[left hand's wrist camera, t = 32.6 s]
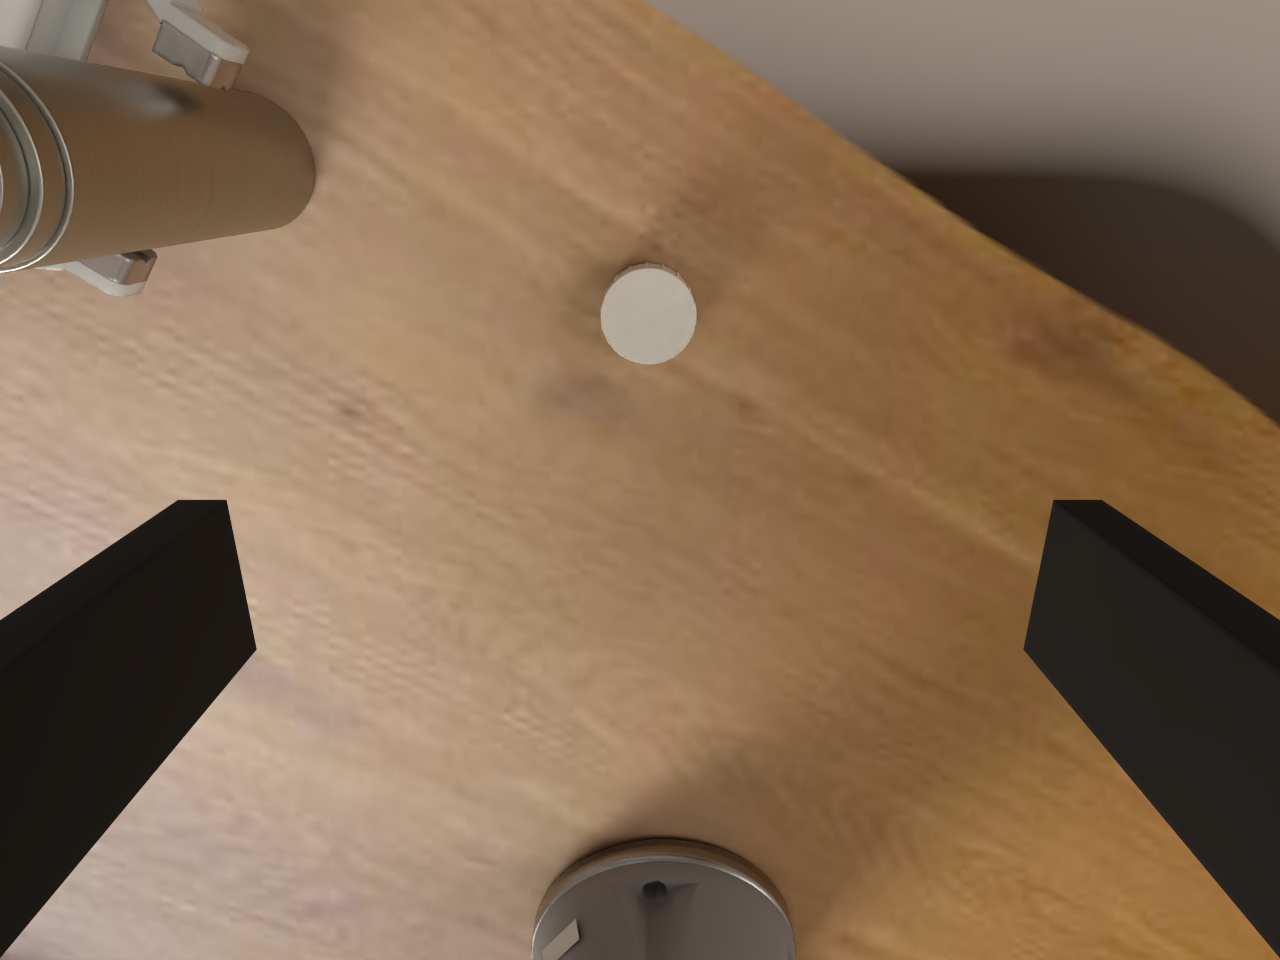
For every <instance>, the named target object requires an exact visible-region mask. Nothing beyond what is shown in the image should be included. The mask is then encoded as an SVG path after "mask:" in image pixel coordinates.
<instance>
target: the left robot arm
mask: <svg viewBox="0 0 1280 960" xmlns="http://www.w3.org/2000/svg"><path fill="white" fill-rule="evenodd" d="M255 651H256V644H255V639H254V634H253V629H252V624H251V619H250V614H249V609H248V604H247V599H246V595H245V590H244V585H243V580H242V575H241V570H240V565H239V560H238V555H237V550H236V545H235V540H234V535H233V530H232V525H231V520H230V515H229V510H228V505H227V500H177V501H176V502H175V503H173V504H172V505H170V506H169V507H167V508H166V509H164V510H163V511H161V512H160V513H158V514H157V515H155V516H154V517H152V518H151V519H149V520H148V521H146V522H145V523H143V524H142V525H140V526H139V527H138V528H136V529H135V530H133V531H132V532H130V533H129V534H127V535H126V536H124V537H123V538H121V539H120V540H118V541H117V542H115V543H114V544H112V545H111V546H109V547H108V548H106V549H105V550H103V551H102V552H101V553H99V554H98V555H96V556H95V557H93V558H92V559H90V560H89V561H87V562H86V563H84V564H83V565H81V566H80V567H78V568H77V569H75V570H74V571H72V572H71V573H69V574H68V575H66V576H65V577H64V578H62V579H61V580H59V581H58V582H56V583H55V584H53V585H52V586H50V587H49V588H47V589H46V590H44V591H43V592H41V593H40V594H38V595H37V596H35V597H34V598H32V599H31V600H29V601H28V602H27V603H25V604H24V605H22V606H21V607H19V608H18V609H16V610H15V611H13V612H12V613H10V614H9V615H7V616H6V617H4V618H3V619H1V620H0V957H1V956H2V955H3V954H4V953H5V951H6V950H7V949H8V948H9V947H10V945H11V944H12V943H13V942H14V941H15V939H16V938H17V937H18V936H19V935H20V933H21V932H22V931H23V930H24V929H25V927H26V926H27V925H28V924H29V923H30V921H31V920H32V919H33V918H34V917H35V915H36V914H37V913H38V912H39V911H40V909H41V908H42V907H43V906H44V905H45V903H46V902H47V901H48V900H49V899H50V897H51V896H52V895H53V894H54V892H55V891H56V890H57V889H58V888H59V886H60V885H61V884H62V883H63V882H64V880H65V879H66V878H67V877H68V876H69V874H70V873H71V872H72V871H73V870H74V868H75V867H76V866H77V865H78V864H79V862H80V861H81V860H82V859H83V858H84V856H85V855H86V854H87V853H88V852H89V850H90V849H91V848H92V847H93V846H94V844H95V843H96V842H97V841H98V840H99V838H100V837H101V836H102V835H103V834H104V832H105V831H106V830H107V829H108V828H109V826H110V825H111V824H112V823H113V821H114V820H115V819H116V818H117V817H118V815H119V814H120V813H121V812H122V811H123V809H124V808H125V807H126V806H127V805H128V803H129V802H130V801H131V800H132V799H133V797H134V796H135V795H136V794H137V793H138V791H139V790H140V789H141V788H142V787H143V785H144V784H145V783H146V782H147V781H148V779H149V778H150V777H151V776H152V775H153V773H154V772H155V771H156V770H157V769H158V767H159V766H160V765H161V764H162V763H163V761H164V760H165V759H166V758H167V757H168V755H169V754H170V753H171V752H172V751H173V749H174V748H175V747H176V746H177V744H178V743H179V742H180V741H181V740H182V738H183V737H184V736H185V735H186V734H187V732H188V731H189V730H190V729H191V728H192V726H193V725H194V724H195V723H196V722H197V720H198V719H199V718H200V717H201V716H202V714H203V713H204V712H205V711H206V710H207V708H208V707H209V706H210V705H211V704H212V702H213V701H214V700H215V699H216V698H217V696H218V695H219V694H220V693H221V692H222V690H223V689H224V688H225V687H226V686H227V684H228V683H229V682H230V681H231V680H232V678H233V677H234V676H235V675H236V674H237V672H238V671H239V670H240V669H241V667H242V666H243V665H244V664H245V663H246V661H247V660H248V659H249V658H250V657H251V655H252V654H253V653H254V652H255ZM1024 651H1025V652H1026V653H1027V654H1028V655H1029V657H1030V658H1031V659H1032V660H1033V661H1034V663H1035V664H1036V665H1037V666H1038V667H1039V669H1040V670H1041V671H1042V672H1043V674H1044V675H1045V676H1046V677H1047V678H1048V680H1049V681H1050V682H1051V683H1052V684H1053V686H1054V687H1055V688H1056V689H1057V690H1058V692H1059V693H1060V694H1061V695H1062V696H1063V698H1064V699H1065V700H1066V701H1067V702H1068V704H1069V705H1070V706H1071V707H1072V708H1073V710H1074V711H1075V712H1076V713H1077V714H1078V716H1079V717H1080V718H1081V719H1082V720H1083V722H1084V723H1085V724H1086V725H1087V726H1088V728H1089V729H1090V730H1091V731H1092V732H1093V734H1094V735H1095V736H1096V737H1097V738H1098V740H1099V741H1100V742H1101V743H1102V744H1103V746H1104V747H1105V748H1106V749H1107V751H1108V752H1109V753H1110V754H1111V755H1112V757H1113V758H1114V759H1115V760H1116V761H1117V763H1118V764H1119V765H1120V766H1121V767H1122V769H1123V770H1124V771H1125V772H1126V773H1127V775H1128V776H1129V777H1130V778H1131V779H1132V781H1133V782H1134V783H1135V784H1136V785H1137V787H1138V788H1139V789H1140V790H1141V791H1142V793H1143V794H1144V795H1145V796H1146V797H1147V799H1148V800H1149V801H1150V802H1151V803H1152V805H1153V806H1154V807H1155V808H1156V809H1157V811H1158V812H1159V813H1160V814H1161V815H1162V817H1163V818H1164V819H1165V820H1166V821H1167V823H1168V824H1169V825H1170V826H1171V828H1172V829H1173V830H1174V831H1175V832H1176V834H1177V835H1178V836H1179V837H1180V838H1181V840H1182V841H1183V842H1184V843H1185V844H1186V846H1187V847H1188V848H1189V849H1190V850H1191V852H1192V853H1193V854H1194V855H1195V856H1196V858H1197V859H1198V860H1199V861H1200V862H1201V864H1202V865H1203V866H1204V867H1205V868H1206V870H1207V871H1208V872H1209V873H1210V874H1211V876H1212V877H1213V878H1214V879H1215V880H1216V882H1217V883H1218V884H1219V885H1220V886H1221V888H1222V889H1223V890H1224V891H1225V892H1226V894H1227V895H1228V896H1229V897H1230V899H1231V900H1232V901H1233V902H1234V903H1235V905H1236V906H1237V907H1238V908H1239V909H1240V911H1241V912H1242V913H1243V914H1244V915H1245V917H1246V918H1247V919H1248V920H1249V921H1250V923H1251V924H1252V925H1253V926H1254V927H1255V929H1256V930H1257V931H1258V932H1259V933H1260V935H1261V936H1262V937H1263V938H1264V939H1265V941H1266V942H1267V943H1268V944H1269V945H1270V947H1271V948H1272V949H1273V950H1274V951H1275V953H1276V954H1277V955H1278V956H1279V957H1280V620H1279V619H1277V618H1276V617H1274V616H1273V615H1271V614H1270V613H1268V612H1267V611H1265V610H1264V609H1262V608H1261V607H1259V606H1258V605H1256V604H1255V603H1253V602H1252V601H1251V600H1249V599H1248V598H1246V597H1245V596H1243V595H1242V594H1240V593H1239V592H1237V591H1236V590H1234V589H1233V588H1231V587H1230V586H1228V585H1227V584H1225V583H1224V582H1222V581H1221V580H1219V579H1218V578H1216V577H1215V576H1214V575H1212V574H1211V573H1209V572H1208V571H1206V570H1205V569H1203V568H1202V567H1200V566H1199V565H1197V564H1196V563H1194V562H1193V561H1191V560H1190V559H1188V558H1187V557H1185V556H1184V555H1182V554H1181V553H1179V552H1178V551H1177V550H1175V549H1174V548H1172V547H1171V546H1169V545H1168V544H1166V543H1165V542H1163V541H1162V540H1160V539H1159V538H1157V537H1156V536H1154V535H1153V534H1151V533H1150V532H1148V531H1147V530H1145V529H1144V528H1142V527H1141V526H1140V525H1138V524H1137V523H1135V522H1134V521H1132V520H1131V519H1129V518H1128V517H1126V516H1125V515H1123V514H1122V513H1120V512H1119V511H1117V510H1116V509H1114V508H1113V507H1111V506H1110V505H1108V504H1107V503H1105V502H1104V501H1103V500H1053V505H1052V510H1051V515H1050V520H1049V525H1048V530H1047V535H1046V540H1045V545H1044V550H1043V555H1042V560H1041V565H1040V570H1039V575H1038V580H1037V585H1036V590H1035V595H1034V599H1033V604H1032V609H1031V614H1030V619H1029V624H1028V629H1027V634H1026V639H1025V644H1024ZM531 956H532V960H795V956H796V949H795V940H794V935H793V930H792V924H791V919H790V915H789V911H788V908H787V906H786V903H785V901H784V899H783V897H782V895H781V893H780V892H779V891H778V889H777V888H776V886H775V885H774V884H773V883H772V882H771V881H770V879H769V878H768V877H767V876H766V875H764V874H763V873H762V872H761V871H760V870H759V869H757V868H756V867H755V866H753V865H752V864H750V863H749V862H747V861H745V860H744V859H742V858H740V857H738V856H736V855H734V854H732V853H730V852H728V851H725V850H722V849H720V848H717V847H713V846H710V845H706V844H702V843H697V842H692V841H684V840H673V839H652V840H641V841H635V842H629V843H624V844H620V845H616V846H613V847H610V848H607V849H604V850H601V851H599V852H597V853H594V854H592V855H590V856H588V857H586V858H584V859H582V860H581V861H579V862H578V863H576V864H575V865H573V866H572V867H570V868H569V869H568V870H566V871H565V872H564V873H563V874H562V875H561V876H560V877H559V878H558V879H557V880H556V881H555V882H554V883H553V884H552V886H551V887H550V888H549V889H548V891H547V892H546V894H545V896H544V897H543V899H542V901H541V904H540V906H539V909H538V912H537V915H536V921H535V928H534V934H533V941H532V955H531Z"/></svg>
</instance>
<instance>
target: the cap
mask: <svg viewBox="0 0 1280 960" xmlns="http://www.w3.org/2000/svg"><path fill="white" fill-rule="evenodd" d="M690 290H691V289H690V286H689V284H688V285H687V284H686V282H685V281H684V280H683V279H682V277H681V276H680V275H679V273H678V272H675V271H673V270H671V269H670V268H668V267H665V266H664V264H662V265H659V264H653V263H648V262H646V263H644V264H638V265H634V266H629V268H627V269H626V270H624V271H623V272H621V273H620V274H619V275H616V276H615V279H614V280H613V281H612V282H611V284H610V285H609V287H608V288H606V290H605V293H604V294H605V297H604V300H603V303H602V304H601V307H600V310H601V327H602V329H603V333H604V335H605V338H606V339H607V341H608V343H609V344H610V345H611V347H612V348H613V349H614V350H615V351H616V352H617V353H618V354H619V355H621V356H622V357H624V358H626V359H627V360H630V361H632V362H635V363H640V364H657V363H662V362H665V361H667V360H669V359H671V358H673V357H675V356H676V355H677V354H679V353H680V352H681V351H682V350H683V349H684V348H685V347H686V345H687V344H688V343H689V341H690V339H691V338H692V335H693V333H694V330H695V325H696V323H697V320H696V307H695V306H697V305H696V302H695V299H694V300H693V297H692V294H691V291H690Z"/></svg>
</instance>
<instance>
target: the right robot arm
mask: <svg viewBox="0 0 1280 960" xmlns="http://www.w3.org/2000/svg"><path fill="white" fill-rule="evenodd" d="M145 1H146V2H147V4H148V6H149V7H150V9H151V10H152V12H153V13H154V15H155V16H156V18H157V20H158V21H159V23H160V24H161V27H160V30H159V32H158V35H157V38H156V41H155V43H154V46H153V49H152V51H154V52H155V53H156V54H158V55H159V56H161V57H162V58H164V59H165V60H167V61H168V62H169V63H171V64H172V65H176V66H180V67H183V68H184V70H185V72H186V74H187V75H189V76H190V77H192V78H193V79H195V80H196V81H198V82H199V83H201V84H203V85H205V86H207V87H209V88H211V89H215V90H220V89H223V90H224V91H225V92H230V91H231V89H232V87H233V85H234V83H235V81H236V79H237V76H238V74H239V72H240V70H241V68H242V66H243V64H244V63H245V60H246V58H247V56H248V53H249V51H250V50H249V49H248V48H247V47H246V45H244V44H243V43H242V42H240V41H239V40H237V39H236V38H234V37H233V36H232V35H230V34H229V33H227V32H226V31H224V30H223V29H222V28H220V27H219V26H217V25H216V24H215V23H213V22H212V21H210V20H209V19H207V18H206V17H205V16H203V15H202V13H203V9H202V7H201V6H200V4H199V2H198V0H145ZM108 2H109V0H0V46H5V47H10V48H15V49H20V50H26V51H31V52H36V53H42V54H47V55H52V56H57V57H63V58H68V59H73V60H79V61H84V62H86V60H87V57H88V55H89V52H90V50H91V47H92V44H93V42H94V39H95V36H96V34H97V31H98V28H99V26H100V23H101V20H102V18H103V15H104V13H105V10H106V7H107V5H108ZM156 259H157V255H156V253H155V252H154V251H153V250H151V249H148V250H141V251H135V252H129V253H123V254H117V255H111V256H105V257H99V258H93V259H86V260H80V261H74V262H68V263H62V264H56V265H50V266H44V267H37V268H35V269H47V270H60V271H62V270H68V271H70V272H71V273H73V274H75V275H76V276H78V277H80V278H81V279H83V280H85V281H86V282H88V283H90V284H91V285H93V286H95V287H97V288H98V289H100V290H102V291H103V292H105V293H107V294H110V295H113V296H117V297H126V296H130V295H134V294H138V293H142V290H143V288H144V286H145V284H146V281H147V279H148V277H149V275H150V272H151V270H152V268H153V265H154V263H155V261H156ZM5 274H6V273H0V287H1V285H2V282H3V279H4V277H5Z"/></svg>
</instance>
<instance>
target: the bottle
mask: <svg viewBox="0 0 1280 960" xmlns="http://www.w3.org/2000/svg"><path fill="white" fill-rule="evenodd" d="M314 179H315V167H314V160H313V155H312V152H311V148H310V146H309V143H308V141H307V139H306V137H305V135H304V133H303V131H302V130H301V128H300V127H299V126H298V124H297V123H296V122H295V120H294V119H293V118H292V117H291V116H290V115H289V114H288V113H287V112H286V111H285V110H284V109H282V108H281V107H280V106H278V105H277V104H276V103H274V102H272V101H270V100H269V99H267V98H264V97H262V96H259V95H256V94H252V93H248V92H243V91H237V90H232V89H231V91H230V92H225V91H224V90H223V89H220V90H215V89H211V88H209V87H207V86H205V85H203V84H200V83H195V82H190V81H184V80H179V79H174V78H169V77H163V76H158V75H153V74H147V73H142V72H137V71H131V70H126V69H121V68H116V67H110V66H105V65H100V64H94V63H89V62H84V61H79V60H73V59H68V58H63V57H57V56H52V55H47V54H42V53H36V52H31V51H26V50H20V49H15V48H10V47H5V46H0V273H7V272H13V271H19V270H25V269H31V268H37V267H44V266H50V265H56V264H62V263H68V262H74V261H80V260H86V259H93V258H99V257H105V256H111V255H117V254H123V253H129V252H135V251H141V250H148V249H154V248H160V247H166V246H172V245H178V244H184V243H190V242H197V241H203V240H209V239H215V238H221V237H227V236H233V235H239V234H245V233H252V232H258V231H264V230H270V229H275V228H279V227H282V226H284V225H286V224H288V223H290V222H291V221H292V220H294V219H295V218H296V217H297V216H298V215H299V214H300V213H301V212H302V211H303V210H304V208H305V207H306V205H307V203H308V202H309V200H310V197H311V194H312V191H313V187H314Z"/></svg>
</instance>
